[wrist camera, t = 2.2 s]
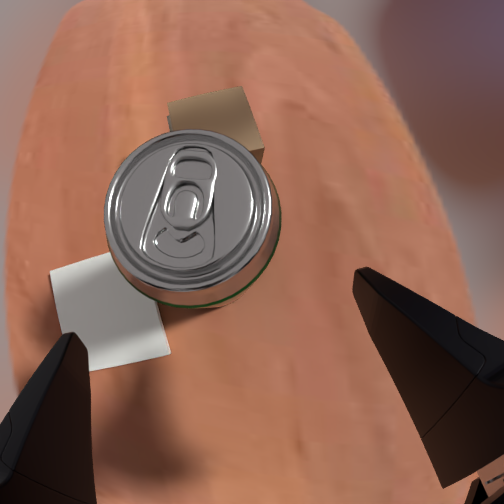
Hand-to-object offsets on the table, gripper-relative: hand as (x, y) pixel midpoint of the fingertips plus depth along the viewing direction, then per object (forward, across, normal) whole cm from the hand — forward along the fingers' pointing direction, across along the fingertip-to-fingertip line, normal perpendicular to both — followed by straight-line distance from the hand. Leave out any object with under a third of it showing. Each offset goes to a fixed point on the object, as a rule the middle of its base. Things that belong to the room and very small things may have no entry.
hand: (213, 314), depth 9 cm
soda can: (+9, 0, +5) cm, 11 cm away
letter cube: (+14, -2, 0) cm, 14 cm away
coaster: (+8, +7, +6) cm, 12 cm away
